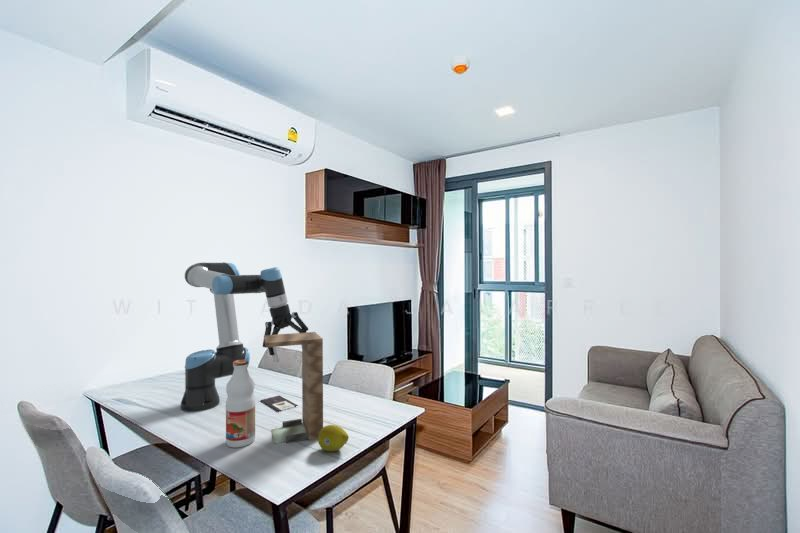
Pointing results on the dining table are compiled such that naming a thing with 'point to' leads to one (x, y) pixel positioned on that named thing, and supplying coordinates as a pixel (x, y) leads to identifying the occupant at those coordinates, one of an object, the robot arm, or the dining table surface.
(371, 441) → the dining table surface
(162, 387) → the dining table surface
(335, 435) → the lemon
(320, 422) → the shelf
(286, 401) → the chocolate bar
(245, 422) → the fruit juice
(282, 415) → the dining table surface
